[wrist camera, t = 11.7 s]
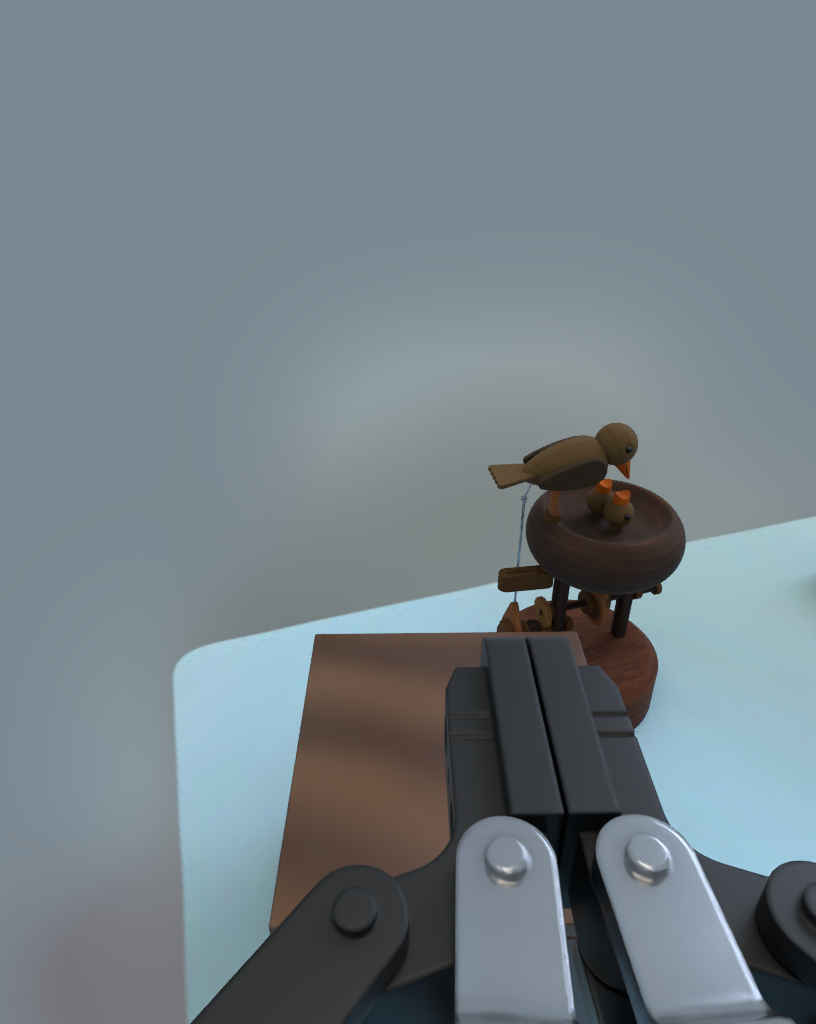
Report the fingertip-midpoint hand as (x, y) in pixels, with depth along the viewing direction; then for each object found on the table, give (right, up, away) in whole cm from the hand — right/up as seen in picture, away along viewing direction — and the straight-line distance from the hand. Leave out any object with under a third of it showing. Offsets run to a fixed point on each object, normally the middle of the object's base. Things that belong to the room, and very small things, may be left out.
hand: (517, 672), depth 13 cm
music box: (+10, -9, +36) cm, 39 cm away
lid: (0, -7, +16) cm, 18 cm away
